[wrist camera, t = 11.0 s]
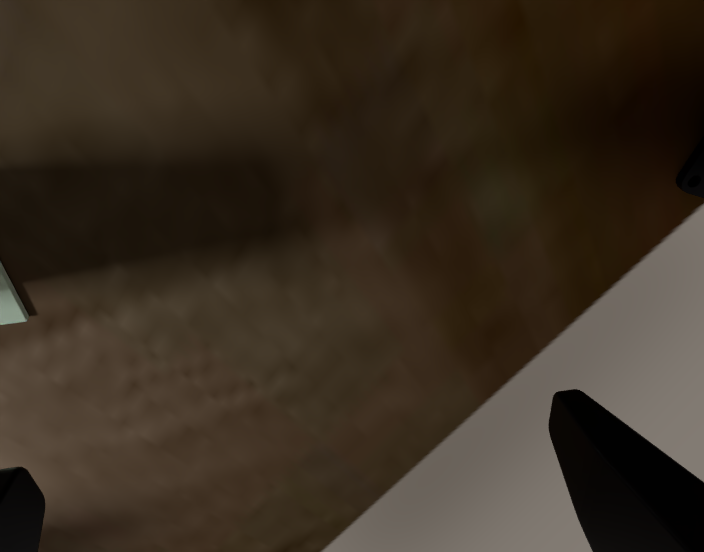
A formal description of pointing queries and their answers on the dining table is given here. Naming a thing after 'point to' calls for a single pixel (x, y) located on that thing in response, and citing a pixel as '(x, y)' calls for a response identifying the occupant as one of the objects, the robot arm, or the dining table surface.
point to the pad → (10, 301)
